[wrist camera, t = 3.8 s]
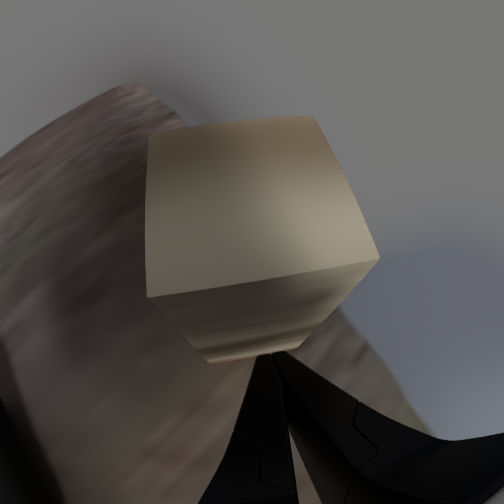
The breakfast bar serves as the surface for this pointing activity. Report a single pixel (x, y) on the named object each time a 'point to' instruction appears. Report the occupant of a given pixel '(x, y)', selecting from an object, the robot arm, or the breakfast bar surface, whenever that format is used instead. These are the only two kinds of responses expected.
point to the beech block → (250, 234)
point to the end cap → (16, 469)
